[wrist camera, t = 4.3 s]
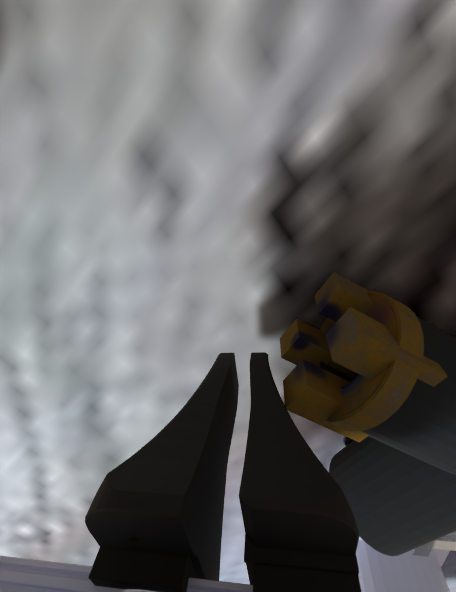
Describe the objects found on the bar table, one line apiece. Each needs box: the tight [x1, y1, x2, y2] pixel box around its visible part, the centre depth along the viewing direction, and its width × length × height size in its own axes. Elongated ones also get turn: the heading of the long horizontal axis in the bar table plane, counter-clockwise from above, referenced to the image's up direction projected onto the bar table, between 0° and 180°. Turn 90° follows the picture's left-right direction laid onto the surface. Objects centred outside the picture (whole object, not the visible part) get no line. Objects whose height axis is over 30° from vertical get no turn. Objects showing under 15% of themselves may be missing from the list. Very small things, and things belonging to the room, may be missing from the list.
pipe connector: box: [280, 272, 456, 556], centre depth 12 cm, size 12×5×15 cm
